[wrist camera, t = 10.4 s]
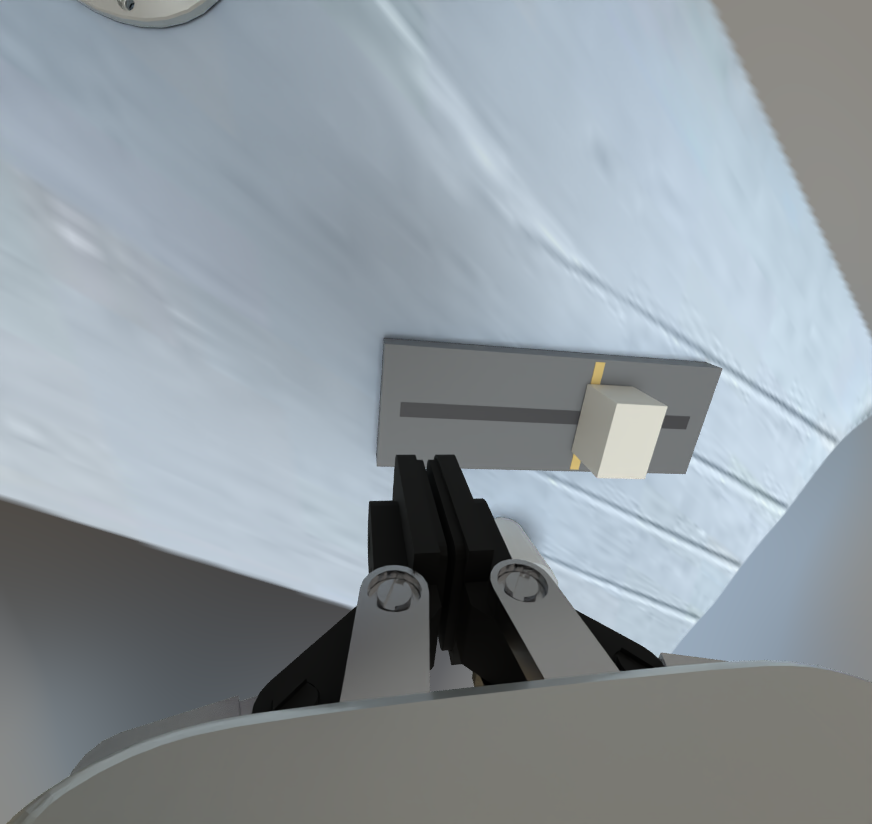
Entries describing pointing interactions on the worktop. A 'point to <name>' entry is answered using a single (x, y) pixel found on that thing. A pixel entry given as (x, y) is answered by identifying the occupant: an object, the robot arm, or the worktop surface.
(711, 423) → the worktop surface
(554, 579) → the white cylinder
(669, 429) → the fader track
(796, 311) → the worktop surface
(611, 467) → the fader knob
